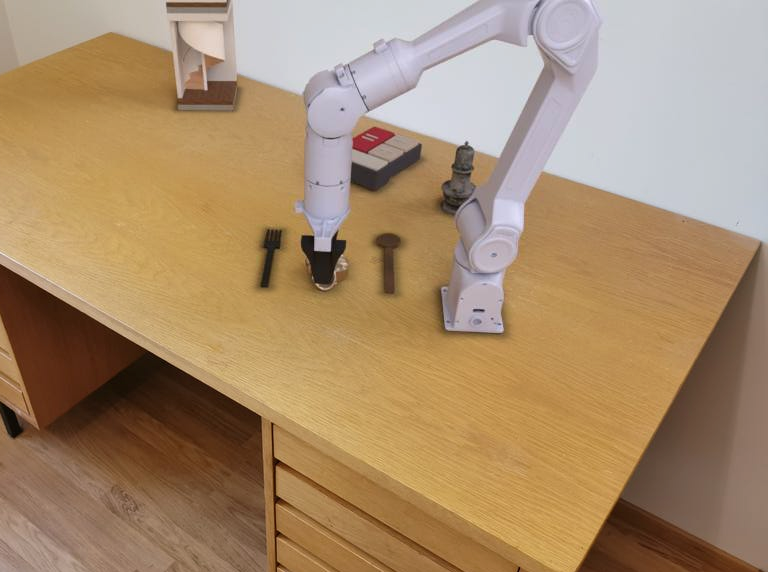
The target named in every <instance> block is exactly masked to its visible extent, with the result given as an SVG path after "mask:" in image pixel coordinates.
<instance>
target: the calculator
mask: <svg viewBox="0 0 768 572" xmlns="http://www.w3.org/2000/svg"><path fill="white" fill-rule="evenodd" d="M352 140H353V147H352V164H351V181H350V183H353V184H356V185H359V186H361V187H363V188H366V189H369V190H371V191H378V190H379V189H381V188H383V187H384V186H385V185H387V184H388V183H389V181H390V180H391V179H392V178H394V176H396V175H398V174H400V173H401V172H403V171H404V170H405V169H407V168H409V167H410V166H411V165H413V164H415V163H416V162H418V161H420V159H421V154H422V147H423V144H422V143H420V141H419V140H416V139H413V138H411V137H407V136H405V135H401V134H395V132H392V131H391V130H387V129H384V128H382V127H381V128H380V127H378V126H376V125H375V126H372V127H370V128H369V129H367V130H364V131H363V132H361V133H359V134H358V135H356V136H354V137H352Z"/></svg>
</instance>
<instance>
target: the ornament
mask: <svg viewBox="0 0 768 572" xmlns="http://www.w3.org/2000/svg"><path fill="white" fill-rule="evenodd" d="M304 266H305V268H306V269H307V272H308V273H309V274H310V275H311V280H312V283H313V284H314V285H315V287H316V288H317V289H318V290H320V291H324V292H326V291H327V292H328V291H331V290H333V288H334V287H337V285H338V282H340V281H343V280H344V279H346V278H348V277H349V271H350V265H349V259H348V258H347V257H346V256H344V255H343V254H342V255H341V256H340V258H339V260H338V261H337V264H336V266H335V270H334V274H333V278H332V280H331V283H330V284H315V283H314V280H313V276H312V272H311V267H310V263H309V261H308V258H307V257H306V258H305V259H304Z"/></svg>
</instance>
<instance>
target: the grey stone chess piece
mask: <svg viewBox="0 0 768 572" xmlns="http://www.w3.org/2000/svg"><path fill="white" fill-rule="evenodd" d="M474 158H475V149H474V147H473V146H471V145H469V141H468V140H466V141H465V142H464V144H461V145H460V146H458V147H457V148H456V150H455V155H454V161H453V163H452V164H451V170H452V172H451V178H450V179H448V180H446V181H444V182H442V183H441V191H442V196H443V198H444V199H443V200H442V201H441V202H440V209H441V210H442V211H443V212H444V213H446V214H449V215H453V216H455V215H456V212H457V210H458V209H459V207H460V206H461V205H462V204H463V203H465V202H466V201H467V200H468V199H469V198H470V197H471V195H472V194H473V192H474V190H475V188H476V187H477V186H476V184H475V183H473V182H471V179H472V177H471V176H472V172H474V171H475V166H474V165H473V162H474Z"/></svg>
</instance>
